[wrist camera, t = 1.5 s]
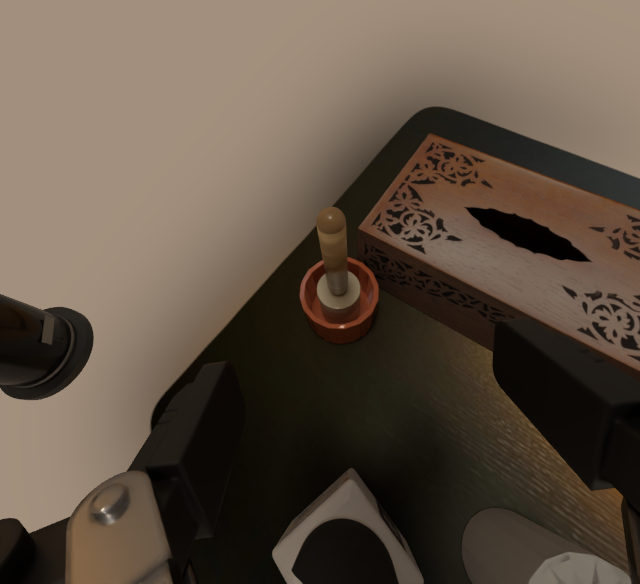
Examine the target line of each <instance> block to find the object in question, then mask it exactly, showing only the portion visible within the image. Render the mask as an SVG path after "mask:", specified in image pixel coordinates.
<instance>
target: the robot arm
mask: <svg viewBox="0 0 640 584" xmlns="http://www.w3.org/2000/svg"><path fill="white" fill-rule="evenodd" d="M76 341H77V335H76V330H75V327H74V325H73V324H72V323H71V322H70V321H69V320H68V319H66V318H64V317H62V316H59V315H56V314H51V313H49V312H46V311H43V310H41V309H38V308H36V307H33V306H30V305H28V304H25V303H23V302H20V301H17V300H15V299H12V298H9V297H6V296H4V295H1V294H0V384H1V385H10V386H13V387H18V388H34V387H38V386H41V385H43V384H45V383H47V382H49V381H50V380H52V379H53V378H54V377H56V376H57V375H58V374H59V373H60V372H61V371H62V370H63V369H64V368H65V366H66V365H67V364H68V362H69V361H70V359H71V357H72V355H73V353H74V350H75V347H76ZM493 372H494V376H495V378H496V381H497V383H498V384H499V386H500V387H501V388H502V389H503V391H504V392H505V393H506V394H507V395H508V396H509V397H510V399H511V400H512V401H513V402H514V403H515V404H516V405H517V407H518V408H519V409H520V410H521V411H522V412H523V413H524V415H525V416H526V417H527V418H528V419H529V420H530V421H531V423H532V424H533V425H534V426H535V427H536V428H537V429H538V431H539V432H540V433H541V434H542V435H543V436H544V437H545V439H546V440H547V441H548V442H549V443H550V444H551V445H552V447H553V448H554V449H555V450H556V451H557V452H558V453H559V455H560V456H561V457H562V458H563V459H564V460H565V461H566V463H567V464H568V465H569V466H570V467H571V468H572V469H573V471H574V472H575V473H576V474H577V475H578V476H579V477H580V479H581V480H582V481H583V482H584V483H585V484H586V485H587V487H588V488H589V489H590V490H591V491H593V490H601V489H608V488H616V489H617V490H618V491H619V492H620V493H621V494H622V495H623V500H622V504H621V511H622V519H623V526H624V533H625V541H626V548H627V555H628V563H629V570H630V577H631V584H640V382H639V381H637V380H636V379H634V378H633V377H631V376H630V375H628V374H626V373H625V372H623V371H622V370H620V369H619V368H617V367H616V366H614V365H612V364H611V363H609V362H605V361H604V359H603V358H601V357H600V356H598V355H597V354H595V353H594V352H590V351H589V349H587V348H586V347H584V346H583V345H581V344H579V343H578V342H576V341H575V340H573V339H572V338H569V337H566V336H563V335H561V334H558V333H555V332H553V331H548V330H546V329H545V328H543V327H542V326H540V325H539V324H537V323H536V322H534V321H533V320H531V319H530V318H528V317H521V318H514V319H507V320H501V321H498V322H497V323H496V324H495V328H494V346H493ZM245 416H246V410H245V402H244V398H243V395H242V392H241V389H240V386H239V382H238V379H237V376H236V373H235V370H234V367H233V364H232V363H231V362H230V361H224V362H218V363H211V364H205V365H204V366H203V367H202V368H201V370H200V372H199V373H198V375H197V377H196V379H195V380H194V382H193V383H189V384H187V385H186V386H185V387H184V388H183V389H181V390H180V391H179V392H178V393H177V394H176V395H175V396H174V397H173V399H172V400H171V402H170V403H169V405H168V407H167V408H166V410H165V413H163V415H162V416H161V418H160V419H159V421H158V425H156V426H155V427H154V429H153V430H152V432H151V434H150V435H149V437H148V438H147V440H146V442H145V443H144V445H143V446H142V448H141V449H140V451H139V453H138V454H137V456H136V457H135V459H134V461H133V462H132V464H131V466H130V467H129V469H128V470H127V472H124V473H120V474H118V475H116V476H114V477H112V478H110V479H108V480H106V481H105V482H103V483H101V484H100V485H99V486H97V487H96V488H95V489H94V490H92V491H91V492H90V493H89V494H88V495H87V496H86V497H85V498H84V499H83V500H82V501H81V502H80V504H79V505H78V506H77V507H76V509H75V510H74V512H73V514H72V515H71V516H70V517H68V518H66V519H63V520H61V521H58V522H56V523H54V524H51V525H49V526H46V527H44V528H41V529H39V530H37V531H34V532H32V533H28V532H27V531H26V529H25V528H24V527H23V525H22V524H21V523H20V521H19V520H17V519H14V518H7V519H2V520H0V584H199V583H198V580H197V577H196V574H195V571H194V568H193V565H192V562H191V560H190V558H189V555H190V551H191V548H192V545H193V542H194V539H201V538H209V537H213V534H214V531H215V527H216V523H217V520H218V516H219V513H220V509H221V506H222V502H223V498H224V495H225V491H226V488H227V484H228V480H229V477H230V473H231V470H232V466H233V462H234V459H235V455H236V452H237V448H238V445H239V441H240V437H241V434H242V430H243V427H244V423H245Z"/></svg>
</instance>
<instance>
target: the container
mask: <svg viewBox="0 0 640 584" xmlns="http://www.w3.org/2000/svg"><path fill="white" fill-rule="evenodd" d="M272 556H273V559H274V561H275V563H276V564H277V566H278V568H279V570H280V572H281V573H282V575H283V577H284V579H285V581H286V582H287V584H424V579H423V577H422V575H421V572H420V570H419V568H418V566H417V564H416V561H415V559H414V557H413V555H412V553H411V550H410V548H409V546H408V544H407V542H406V540H405V539H404V537H403V536H402V535H401V533H400V532H399V530H398V529H397V528H396V526H395V525H394V523H393V522H392V521H391V519H390V518H389V517H388V515H387V514H386V512H385V511H384V510H383V508H382V507H381V506H380V504H379V503H378V501H377V500H376V499H375V497H374V496H373V494H372V493H371V492H370V490H369V489H368V488H367V486H366V485H365V483H364V482H363V481H362V479H361V478H360V477H359V475H358V474H357V472H356V471H355V470H354V469H353V468H350V469H348V470H347V471H346V472H345V473H344V474H343V475H342V476H341V477H340V478H339V479H337V480H336V481H335V482H334V483H333V484H332V485H331V486H330V487H329V488H328V489H327V490H325V491H324V492H323V493H322V494H321V495H320V496H319V497H318V498H317V499H316V500H315V501H313V502H312V503H311V504H310V505H309V506H308V507H307V508H306V509H305V510H304V511H303V512H301V513H300V514H299V515H298V516H297V517H296V518H295V519H294V520H293V521H292V522H291V523H290V525H289V527H288V528H287V530H286V531H285V533H284V534H283V536H282V537H281V539H280V540H279V542H278V543H277V545H276V546H275V548H274V550H273V552H272Z"/></svg>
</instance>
